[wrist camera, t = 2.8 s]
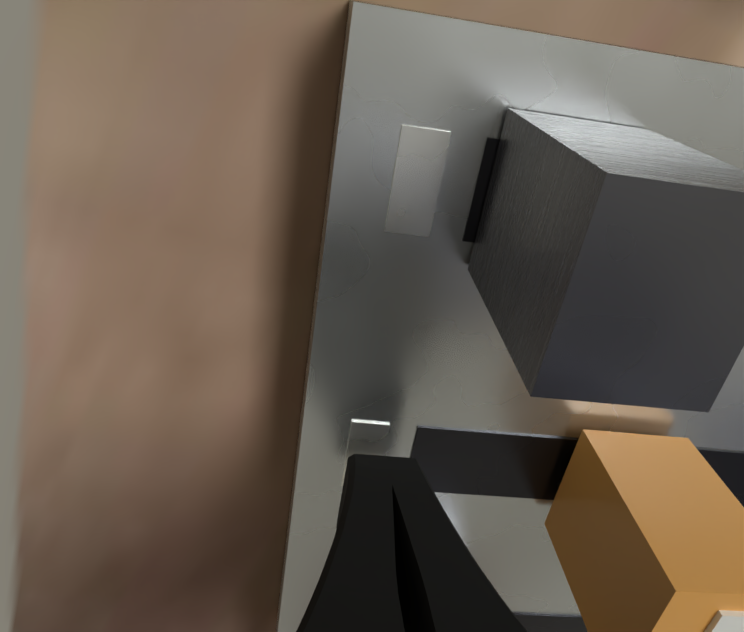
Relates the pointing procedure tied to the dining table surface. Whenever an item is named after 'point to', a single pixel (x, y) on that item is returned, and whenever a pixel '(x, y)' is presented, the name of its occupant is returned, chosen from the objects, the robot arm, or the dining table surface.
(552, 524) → the breaker
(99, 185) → the dining table surface
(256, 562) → the dining table surface
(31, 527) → the dining table surface
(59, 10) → the dining table surface
